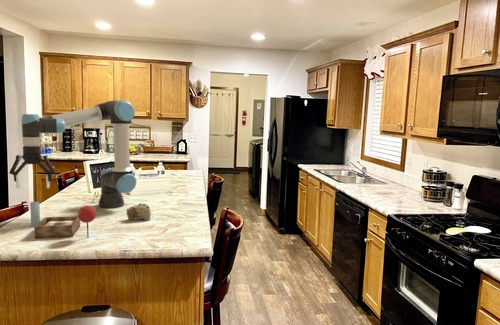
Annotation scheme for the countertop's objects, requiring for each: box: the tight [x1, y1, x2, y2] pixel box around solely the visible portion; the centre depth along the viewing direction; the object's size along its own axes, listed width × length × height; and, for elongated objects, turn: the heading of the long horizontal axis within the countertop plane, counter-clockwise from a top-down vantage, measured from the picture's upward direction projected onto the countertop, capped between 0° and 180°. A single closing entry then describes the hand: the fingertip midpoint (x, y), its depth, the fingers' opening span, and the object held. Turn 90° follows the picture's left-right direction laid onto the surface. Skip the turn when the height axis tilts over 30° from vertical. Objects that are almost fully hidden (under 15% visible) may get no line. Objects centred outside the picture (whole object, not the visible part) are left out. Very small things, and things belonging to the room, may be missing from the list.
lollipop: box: [77, 205, 97, 239], centre depth 175 cm, size 8×8×15 cm
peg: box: [29, 201, 41, 228], centre depth 192 cm, size 4×4×12 cm
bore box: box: [33, 215, 81, 239], centre depth 183 cm, size 16×16×6 cm
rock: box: [126, 202, 152, 221], centre depth 209 cm, size 12×7×10 cm, turn 91°
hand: (33, 187), depth 190 cm, fingers open, 13 cm apart
